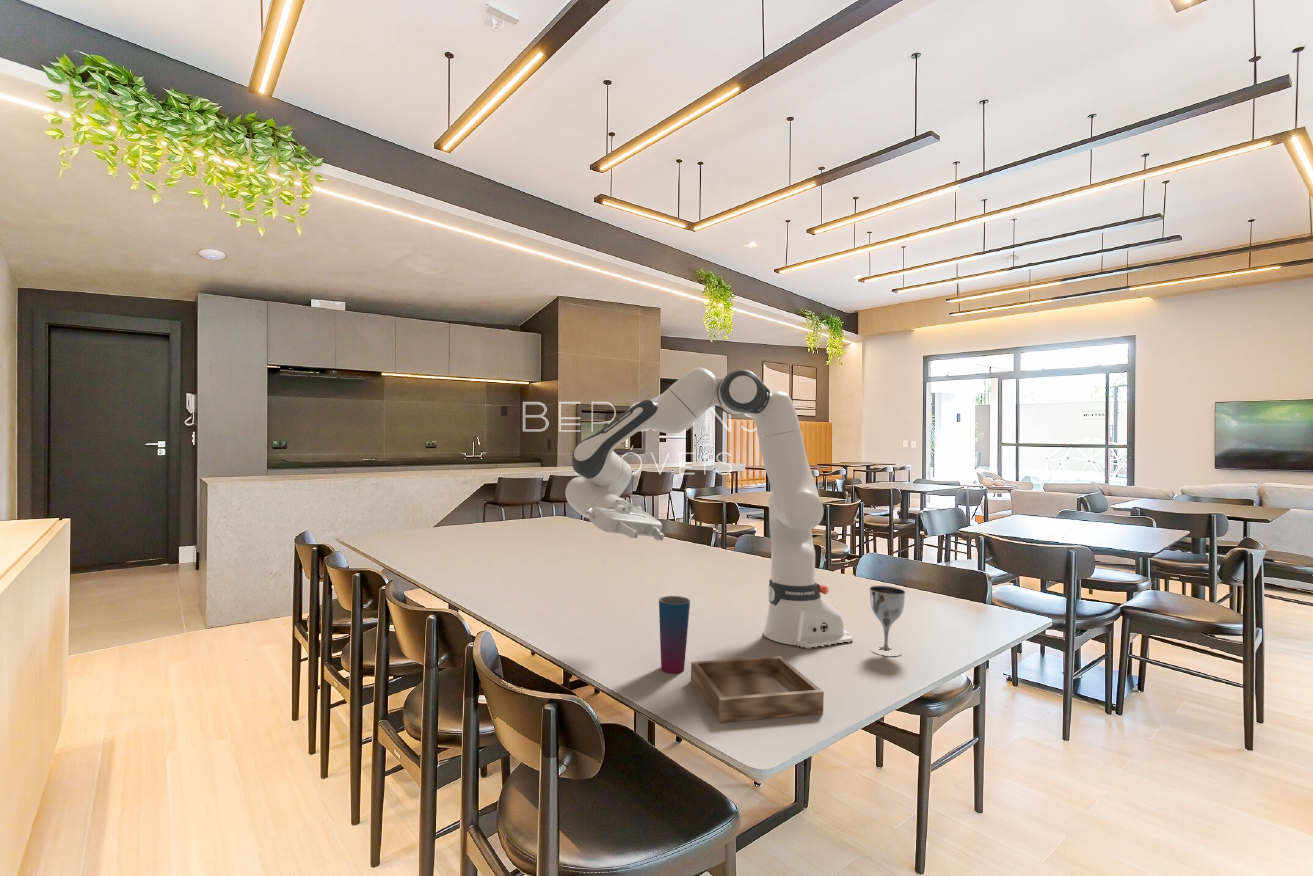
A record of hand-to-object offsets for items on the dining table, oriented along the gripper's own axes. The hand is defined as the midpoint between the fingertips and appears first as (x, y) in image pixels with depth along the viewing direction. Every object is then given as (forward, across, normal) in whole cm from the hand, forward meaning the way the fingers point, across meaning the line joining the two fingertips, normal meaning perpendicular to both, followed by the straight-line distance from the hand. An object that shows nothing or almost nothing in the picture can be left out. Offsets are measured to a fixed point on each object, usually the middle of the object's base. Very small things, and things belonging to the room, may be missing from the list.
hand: (649, 536), depth 136 cm
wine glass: (+45, +45, +7) cm, 64 cm away
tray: (+38, +1, +17) cm, 41 cm away
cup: (+18, +1, +23) cm, 29 cm away
